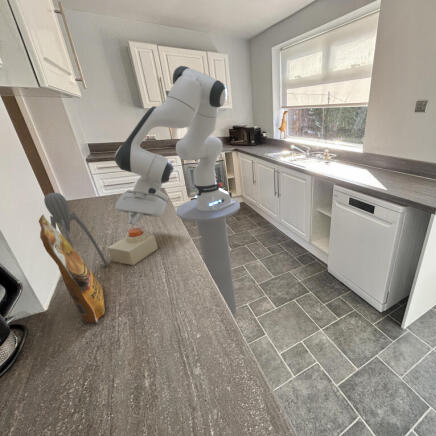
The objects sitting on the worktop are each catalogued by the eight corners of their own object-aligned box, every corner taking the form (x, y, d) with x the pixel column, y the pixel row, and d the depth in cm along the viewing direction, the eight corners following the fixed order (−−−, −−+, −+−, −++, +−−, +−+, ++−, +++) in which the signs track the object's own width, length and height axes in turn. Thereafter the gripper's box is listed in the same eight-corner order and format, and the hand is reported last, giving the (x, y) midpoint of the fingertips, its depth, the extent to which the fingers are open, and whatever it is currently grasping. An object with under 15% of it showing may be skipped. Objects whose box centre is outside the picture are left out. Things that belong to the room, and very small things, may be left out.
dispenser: (138, 244, 101) (133, 228, 98) (158, 248, 99) (153, 231, 95) (112, 261, 91) (105, 242, 87) (133, 265, 88) (127, 246, 85)
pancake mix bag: (75, 335, 61) (24, 240, 49) (77, 293, 75) (38, 211, 63) (107, 322, 65) (67, 231, 53) (104, 284, 78) (71, 205, 67)
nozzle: (136, 231, 96) (134, 227, 95) (145, 233, 95) (143, 228, 94) (126, 236, 92) (125, 232, 91) (136, 238, 91) (134, 233, 90)
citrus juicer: (107, 265, 88) (77, 187, 76) (108, 279, 81) (75, 195, 68) (67, 276, 82) (27, 193, 69) (64, 293, 75) (19, 203, 62)
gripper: (119, 186, 96) (103, 218, 91) (161, 191, 91) (147, 225, 87) (131, 193, 102) (117, 223, 97) (172, 198, 97) (159, 230, 92)
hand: (132, 224), depth 92 cm, fingers closed
